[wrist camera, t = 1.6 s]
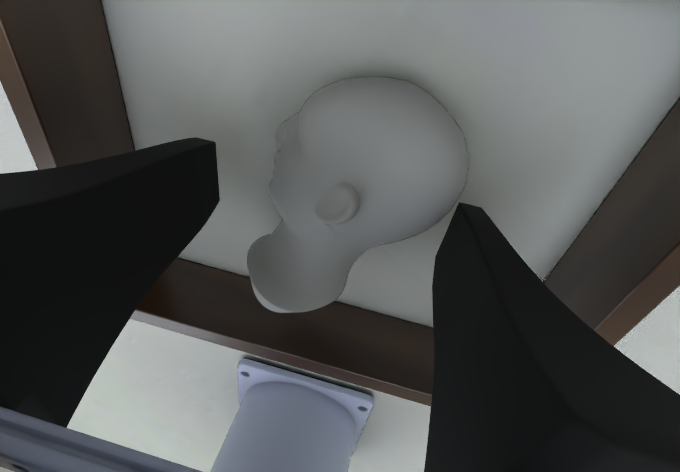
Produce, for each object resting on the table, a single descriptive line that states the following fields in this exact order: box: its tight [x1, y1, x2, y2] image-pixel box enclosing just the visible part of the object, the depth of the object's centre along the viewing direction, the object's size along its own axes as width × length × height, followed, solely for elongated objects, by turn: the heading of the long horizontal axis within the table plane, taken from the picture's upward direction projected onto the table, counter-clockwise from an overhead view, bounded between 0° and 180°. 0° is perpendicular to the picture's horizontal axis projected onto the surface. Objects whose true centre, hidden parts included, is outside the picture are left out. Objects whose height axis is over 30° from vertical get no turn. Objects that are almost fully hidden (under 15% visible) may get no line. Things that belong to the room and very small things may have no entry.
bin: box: [0, 0, 680, 406], centre depth 11 cm, size 15×18×3 cm
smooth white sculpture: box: [247, 77, 469, 313], centre depth 11 cm, size 4×8×5 cm
